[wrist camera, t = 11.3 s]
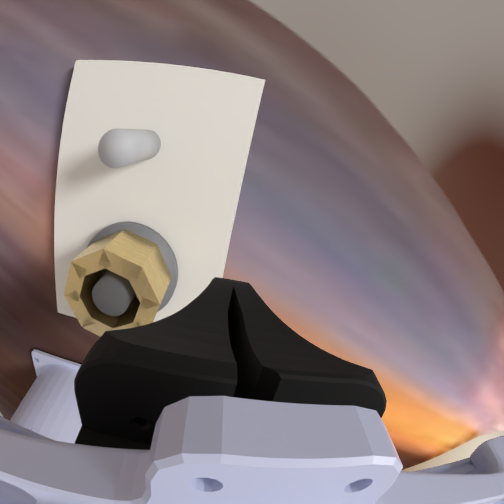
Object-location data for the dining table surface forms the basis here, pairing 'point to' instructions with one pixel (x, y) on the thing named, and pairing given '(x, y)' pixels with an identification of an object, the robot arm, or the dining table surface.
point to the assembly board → (152, 171)
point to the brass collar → (126, 265)
